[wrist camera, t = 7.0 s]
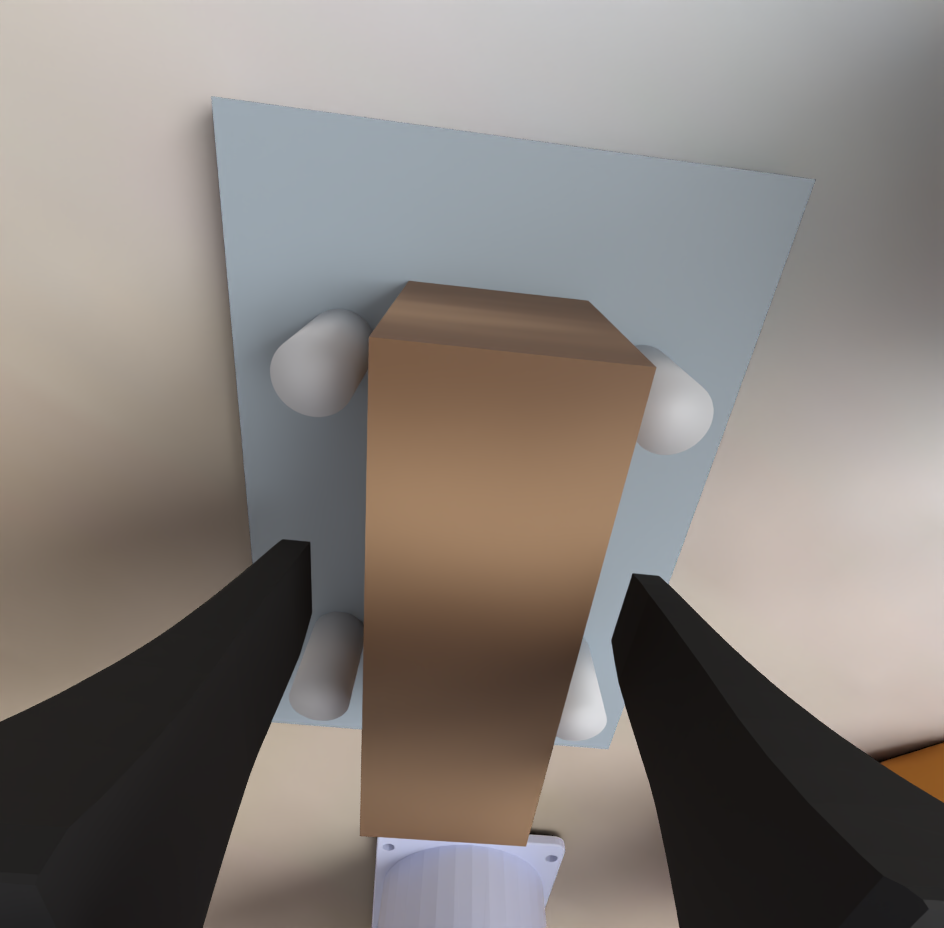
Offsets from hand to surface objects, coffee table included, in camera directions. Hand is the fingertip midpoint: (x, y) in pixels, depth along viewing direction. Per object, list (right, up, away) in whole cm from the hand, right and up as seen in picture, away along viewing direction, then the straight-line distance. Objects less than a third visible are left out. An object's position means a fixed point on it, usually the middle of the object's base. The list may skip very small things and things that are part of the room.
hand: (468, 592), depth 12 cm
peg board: (0, +2, +3) cm, 4 cm away
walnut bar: (0, +1, +3) cm, 3 cm away
